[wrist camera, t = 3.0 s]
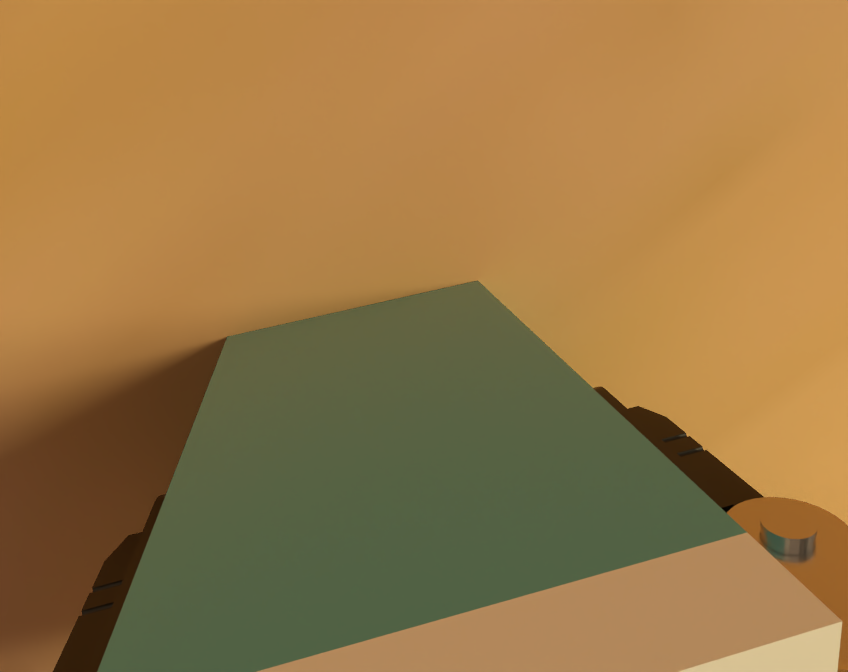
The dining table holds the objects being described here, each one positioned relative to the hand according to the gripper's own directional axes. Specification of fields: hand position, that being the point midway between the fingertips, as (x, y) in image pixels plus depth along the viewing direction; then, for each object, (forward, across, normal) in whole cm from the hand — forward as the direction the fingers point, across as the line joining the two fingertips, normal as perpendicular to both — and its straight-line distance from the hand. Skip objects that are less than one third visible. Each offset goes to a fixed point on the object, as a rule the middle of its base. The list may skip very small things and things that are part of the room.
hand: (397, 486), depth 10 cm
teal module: (+1, 0, 0) cm, 1 cm away
